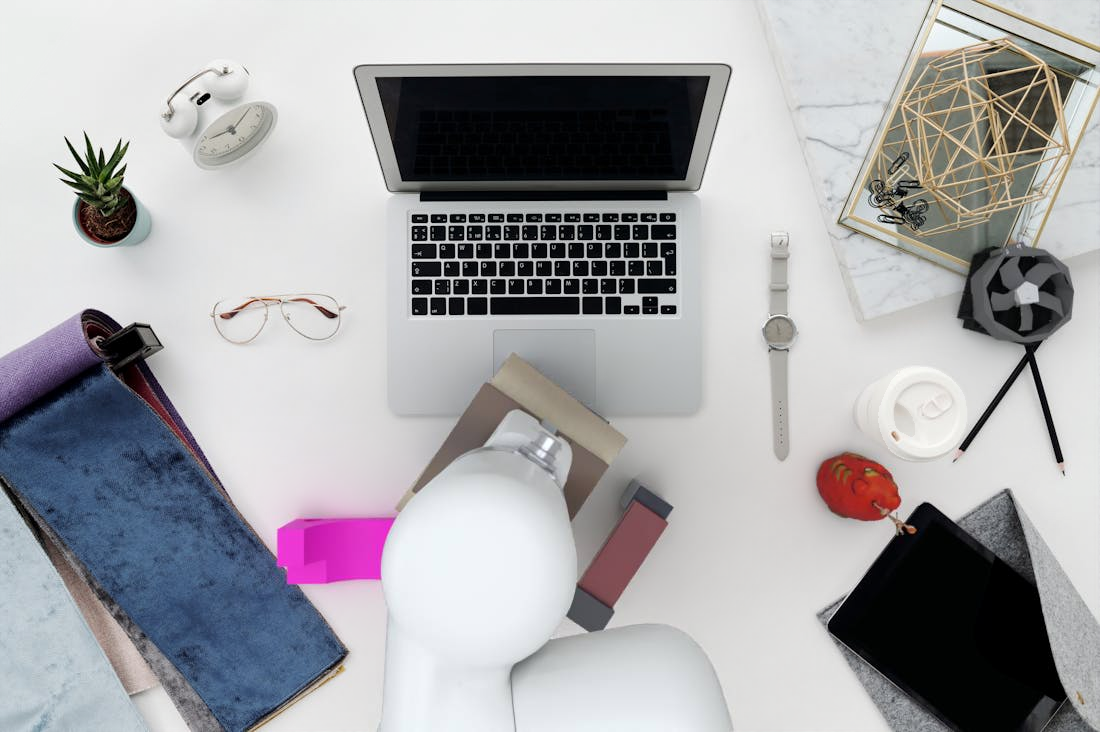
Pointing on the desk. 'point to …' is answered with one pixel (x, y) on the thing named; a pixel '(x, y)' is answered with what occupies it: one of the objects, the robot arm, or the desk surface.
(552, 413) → the interlocking block puzzle
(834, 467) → the red clay folk toy
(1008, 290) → the cpu cooler
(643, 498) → the dark blue-grey long block
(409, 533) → the robot arm
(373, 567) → the toy block
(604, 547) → the bar
